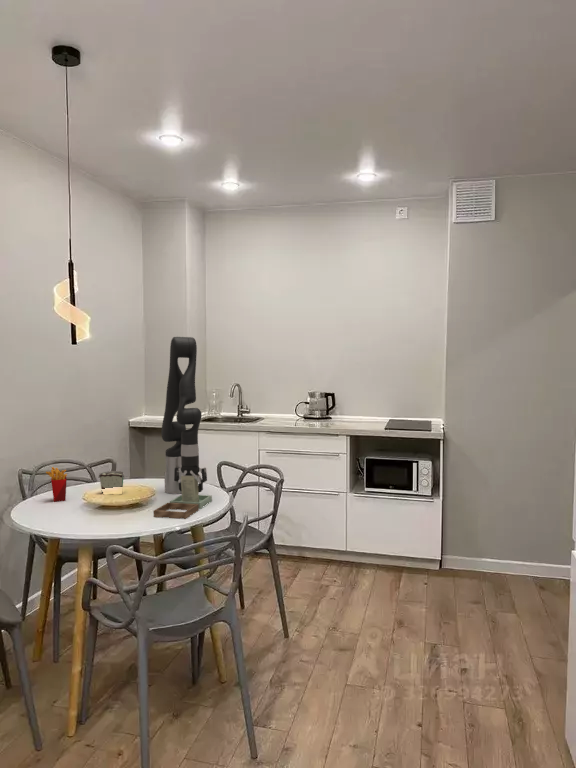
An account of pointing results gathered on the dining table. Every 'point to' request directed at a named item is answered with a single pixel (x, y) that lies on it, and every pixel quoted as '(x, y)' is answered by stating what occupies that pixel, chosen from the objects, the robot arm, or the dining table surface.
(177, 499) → the green tray
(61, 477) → the french fries
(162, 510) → the walnut bin
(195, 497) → the skincare box
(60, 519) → the dining table surface
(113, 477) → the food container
